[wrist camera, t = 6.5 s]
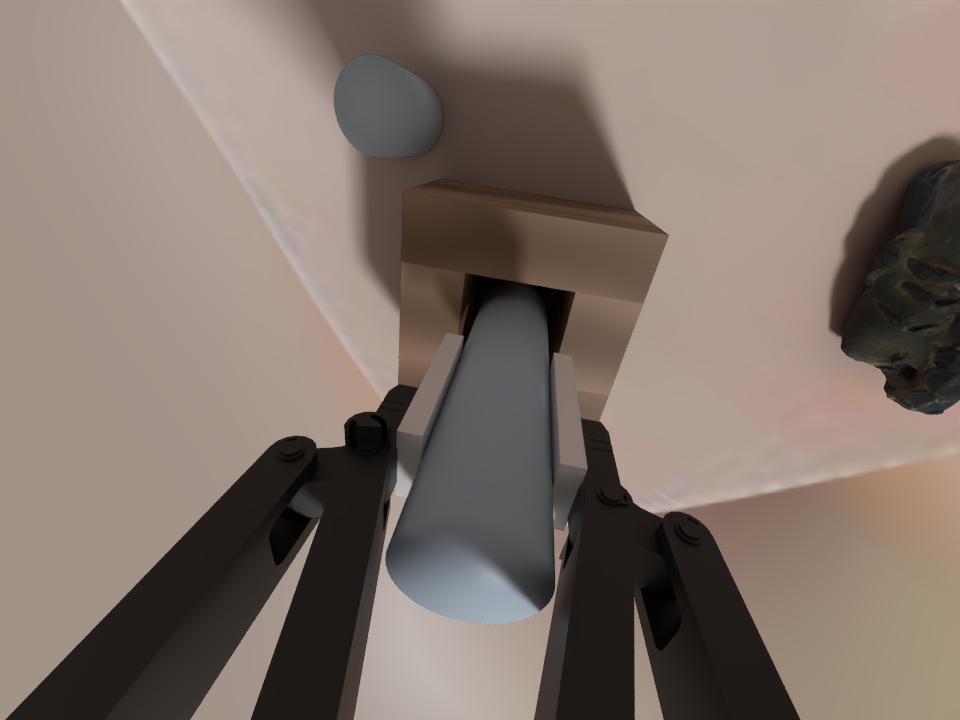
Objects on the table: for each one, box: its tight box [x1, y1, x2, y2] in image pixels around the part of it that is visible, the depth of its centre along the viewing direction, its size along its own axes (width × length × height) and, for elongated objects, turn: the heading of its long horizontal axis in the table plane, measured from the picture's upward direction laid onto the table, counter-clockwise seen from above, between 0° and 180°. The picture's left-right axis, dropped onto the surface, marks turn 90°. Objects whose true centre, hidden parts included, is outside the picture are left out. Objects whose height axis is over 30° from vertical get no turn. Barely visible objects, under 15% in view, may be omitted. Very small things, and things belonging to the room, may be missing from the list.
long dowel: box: [386, 281, 555, 624], centre depth 16 cm, size 4×4×16 cm
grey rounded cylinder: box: [334, 54, 443, 158], centre depth 20 cm, size 4×4×5 cm
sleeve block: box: [398, 179, 669, 422], centre depth 23 cm, size 12×12×7 cm
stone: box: [841, 160, 960, 415], centre depth 20 cm, size 7×13×5 cm, turn 14°
